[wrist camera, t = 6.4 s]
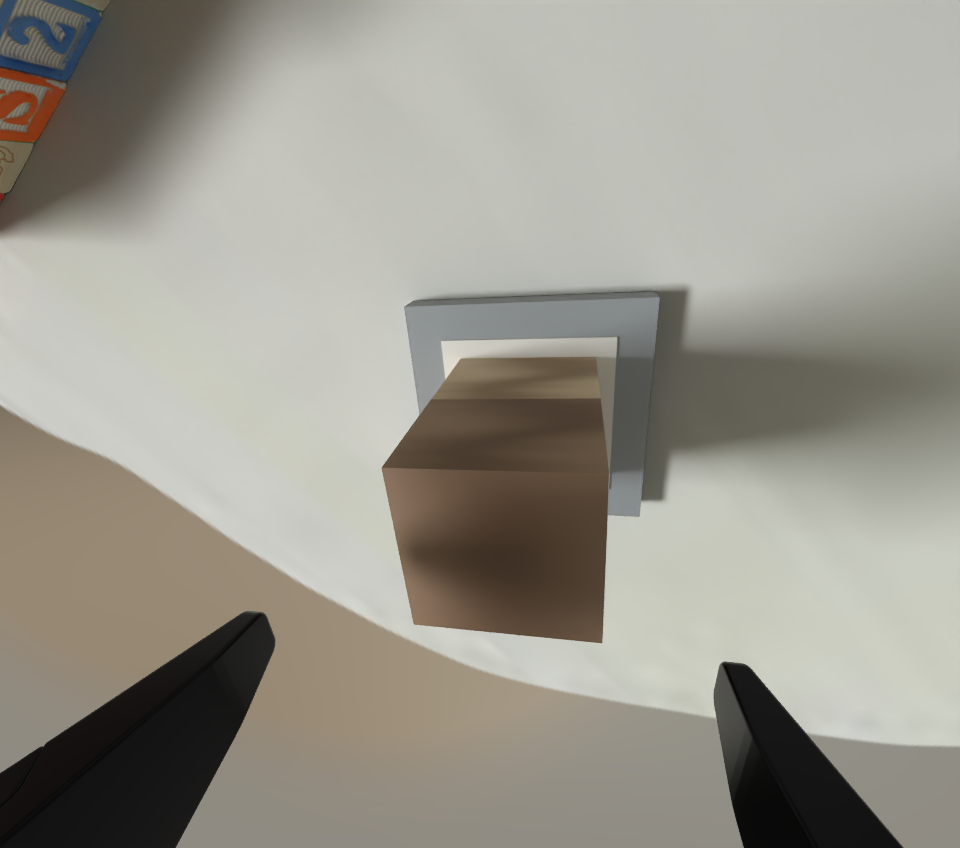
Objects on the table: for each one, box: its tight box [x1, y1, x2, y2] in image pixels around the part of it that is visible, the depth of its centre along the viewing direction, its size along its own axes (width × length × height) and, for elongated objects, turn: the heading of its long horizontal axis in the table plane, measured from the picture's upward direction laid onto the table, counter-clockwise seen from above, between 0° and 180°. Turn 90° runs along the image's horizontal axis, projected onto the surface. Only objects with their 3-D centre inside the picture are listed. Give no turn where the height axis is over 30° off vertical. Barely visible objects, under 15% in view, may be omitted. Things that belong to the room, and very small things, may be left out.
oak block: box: [432, 357, 601, 399], centre depth 16 cm, size 5×5×4 cm
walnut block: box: [382, 398, 609, 643], centre depth 13 cm, size 5×5×4 cm
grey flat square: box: [404, 291, 660, 517], centre depth 19 cm, size 9×9×1 cm
